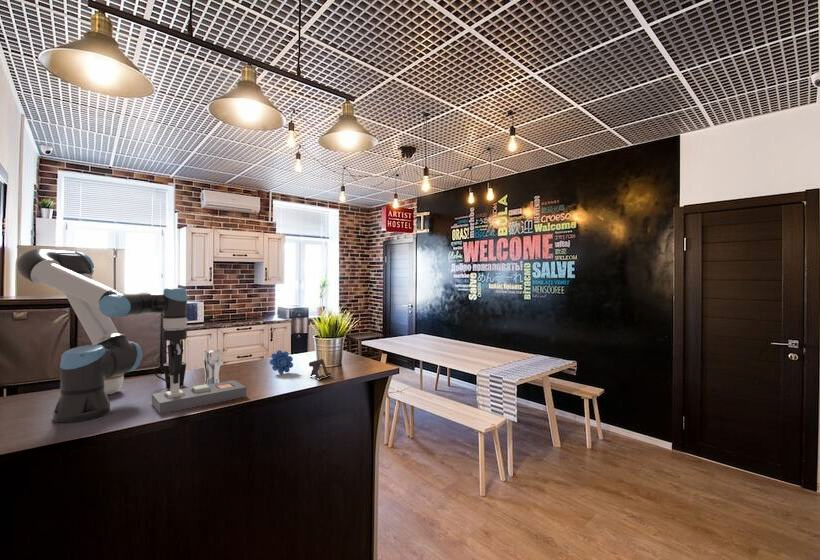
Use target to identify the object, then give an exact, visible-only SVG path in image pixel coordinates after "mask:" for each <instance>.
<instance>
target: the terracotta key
mask: <svg viewBox="0 0 820 560" xmlns="http://www.w3.org/2000/svg"><path fill="white" fill-rule="evenodd" d="M229 387H234V386H232V385H231V384H225V385H219V386H217V388H219V389H223V388H229Z"/></svg>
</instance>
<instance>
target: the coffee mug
mask: <svg viewBox="0 0 820 560" xmlns="http://www.w3.org/2000/svg"><path fill="white" fill-rule="evenodd" d="M186 367H187V361H182V368H181V373H180V388H182V387H183V386H184V383H185V376H186V369H187V368H186ZM156 370H162V371H163V372H164V377H161V376H159V375H158V374H157V373H156ZM153 374H154V375H155V376H156V377H157V378H158V379H160V380H162V381H164V382H165V388H166V387H167V388H166V389H170V371H169V362H166V363H164V364H163V367H161V366H158V367H156V368H154V369H153ZM181 386H182V387H181Z"/></svg>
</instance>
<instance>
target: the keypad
mask: <svg viewBox="0 0 820 560" xmlns="http://www.w3.org/2000/svg"><path fill="white" fill-rule="evenodd" d="M225 384H231V385H232V386H234V387H229V388H223V389H219V388H217V386H219V385H225ZM208 386H209V387H210V391H206V392H201V393H195V394H194V393H193V392H192V387H193V386H191V387H186V388H180V390H182V391H183V392H184V396H179V397H173V398H166V397H165V392H167V391H166V390H165V391H161V392H154V393H151V406H152V407H153V406H154V407H153V409H155V410H156V412H157V411H158V412H157V413H158V414H159V415H163V413H164V414H168V413H167V412H169V413H172V412H171V411H174V412H178V411H177V410H179V411H182V409H184V410H188V409H187V408H189V409H193V408H192V407H194V408H198V407H197V406H199V407H203V406H202V405H204V406H209V405H212V404H218V403H223V402H227V400H228V401H232V399H233V400H237V398H238V399H241V398H240V397H243V398H246V397H247V386H246V385H243V384H242V383H240V382H239V381H237V380H234V379H231V380H227V381H221V382H220V381H219V383H214V384H208ZM245 396H246V397H245ZM222 401H223V402H222ZM208 404H209V405H208Z"/></svg>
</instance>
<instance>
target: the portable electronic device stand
mask: <svg viewBox="0 0 820 560" xmlns="http://www.w3.org/2000/svg"><path fill="white" fill-rule="evenodd" d="M308 366H309V367H310V368H311V367H312V370H311V372H310V375H309V377H310V376H312V375H313V376H314V375H316V376H315V379H316V378H319V379H320V378H322V377H325V375H326V376H328V375H331V376H332V372H328V368H327V366H326V363H325V360H324V359H323V358H320V359H316V360H313V361H310V362H309V363H308ZM320 366H322V368H323V373H324V374H322V375H320V374H319V369H320ZM313 376H312V377H313Z"/></svg>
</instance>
